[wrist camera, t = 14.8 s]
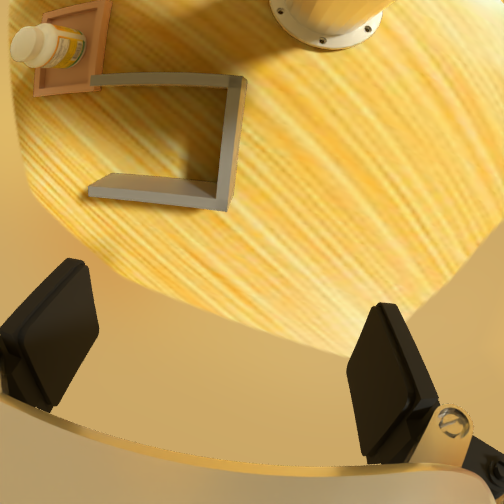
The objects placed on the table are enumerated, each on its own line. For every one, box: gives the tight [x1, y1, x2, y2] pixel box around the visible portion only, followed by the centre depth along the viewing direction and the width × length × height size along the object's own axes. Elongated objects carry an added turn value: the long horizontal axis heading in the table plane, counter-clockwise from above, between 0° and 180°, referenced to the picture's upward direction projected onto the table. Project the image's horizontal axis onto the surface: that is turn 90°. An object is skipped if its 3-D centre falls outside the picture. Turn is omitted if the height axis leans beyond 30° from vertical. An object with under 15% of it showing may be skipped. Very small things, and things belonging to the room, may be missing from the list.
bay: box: [88, 72, 247, 212], centre depth 32 cm, size 13×16×6 cm
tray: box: [33, 0, 112, 97], centre depth 28 cm, size 12×10×2 cm
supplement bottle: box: [10, 23, 87, 69], centre depth 24 cm, size 5×5×10 cm
